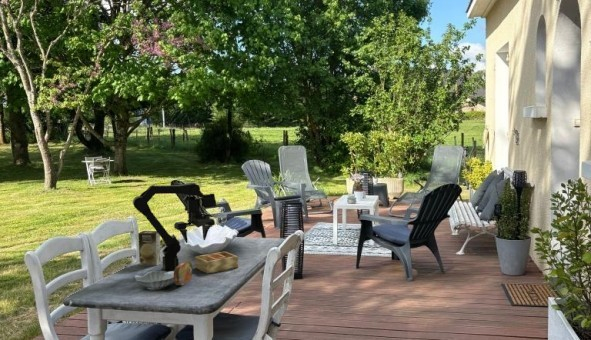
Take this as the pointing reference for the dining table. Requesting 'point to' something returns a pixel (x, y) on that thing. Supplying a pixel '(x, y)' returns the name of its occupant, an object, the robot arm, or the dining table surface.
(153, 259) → the coffee box
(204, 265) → the pine crate
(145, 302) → the dining table surface
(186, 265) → the tin
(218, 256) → the terracotta crate
